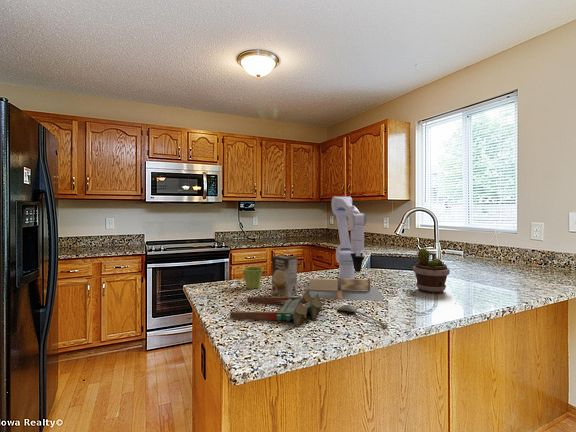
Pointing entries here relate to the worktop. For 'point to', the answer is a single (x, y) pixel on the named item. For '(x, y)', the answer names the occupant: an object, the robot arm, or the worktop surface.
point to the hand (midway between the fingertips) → (357, 270)
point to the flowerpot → (430, 273)
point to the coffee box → (284, 275)
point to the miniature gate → (284, 308)
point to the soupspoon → (354, 309)
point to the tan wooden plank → (356, 284)
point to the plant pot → (252, 277)
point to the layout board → (340, 291)
